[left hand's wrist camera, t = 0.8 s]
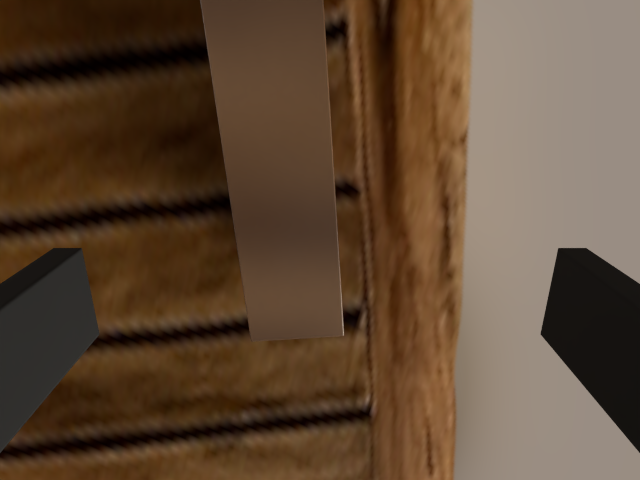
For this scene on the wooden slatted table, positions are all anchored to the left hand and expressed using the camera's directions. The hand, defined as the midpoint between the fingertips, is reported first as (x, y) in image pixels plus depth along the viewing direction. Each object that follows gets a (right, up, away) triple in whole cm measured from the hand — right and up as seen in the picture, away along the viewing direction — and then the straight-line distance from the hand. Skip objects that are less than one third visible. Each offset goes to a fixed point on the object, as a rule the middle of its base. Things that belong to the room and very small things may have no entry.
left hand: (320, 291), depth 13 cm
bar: (-3, +31, +4) cm, 31 cm away
